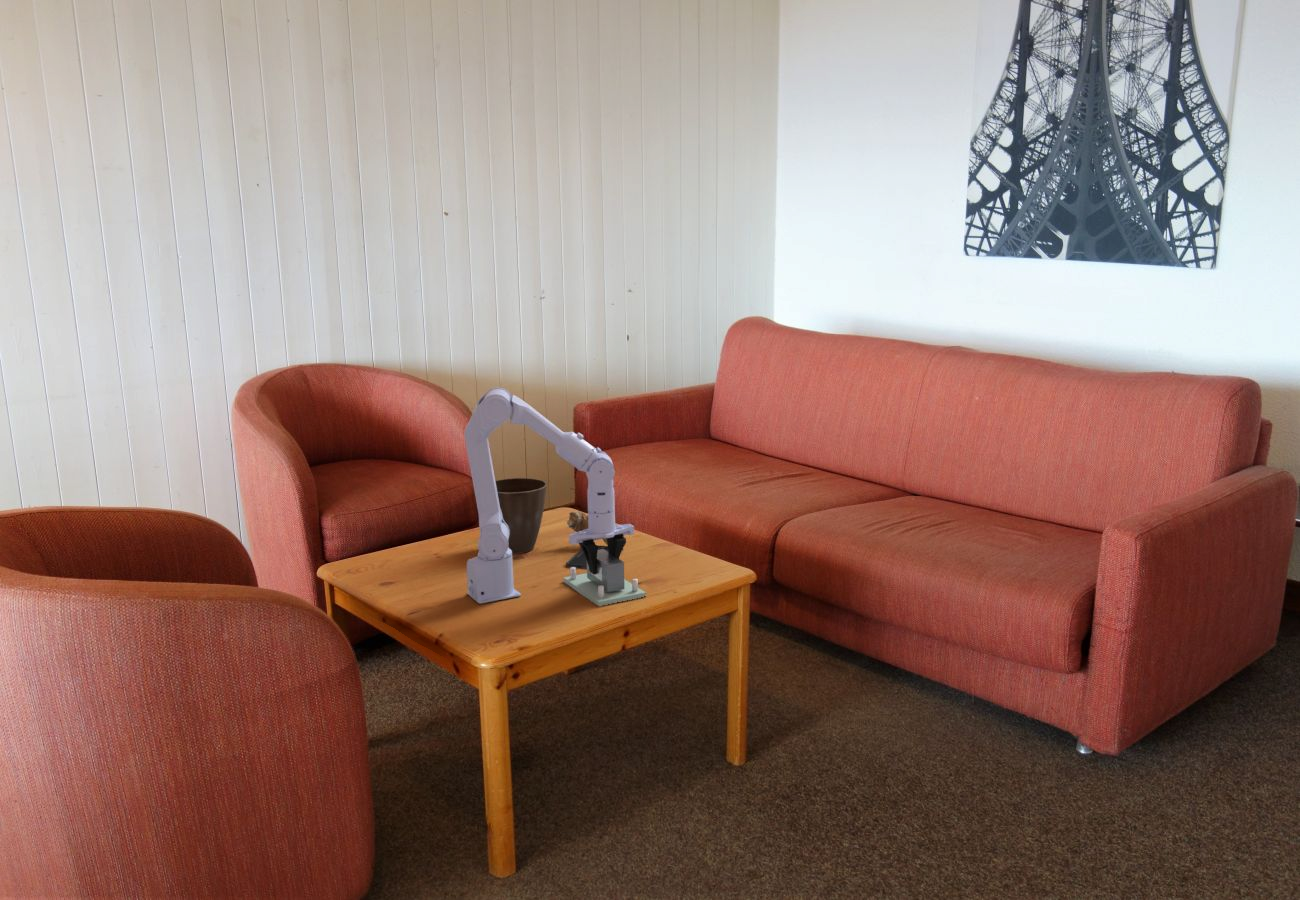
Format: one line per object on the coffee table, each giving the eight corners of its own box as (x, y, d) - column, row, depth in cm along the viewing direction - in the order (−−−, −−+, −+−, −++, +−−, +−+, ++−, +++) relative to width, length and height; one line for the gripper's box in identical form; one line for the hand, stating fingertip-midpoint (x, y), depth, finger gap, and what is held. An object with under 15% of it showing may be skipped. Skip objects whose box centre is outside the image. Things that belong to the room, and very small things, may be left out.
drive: (607, 592, 233) (606, 565, 231) (586, 578, 241) (586, 551, 240) (624, 588, 234) (624, 562, 233) (603, 574, 243) (603, 548, 242)
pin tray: (599, 606, 229) (598, 590, 228) (563, 581, 244) (562, 566, 243) (645, 596, 234) (645, 581, 233) (608, 573, 249) (607, 558, 248)
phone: (617, 546, 266) (596, 566, 252) (617, 551, 266) (596, 571, 252) (586, 544, 268) (564, 563, 254) (586, 549, 268) (564, 568, 254)
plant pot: (478, 545, 272) (475, 482, 268) (535, 536, 278) (532, 474, 275) (500, 562, 259) (496, 496, 255) (558, 551, 266) (556, 487, 262)
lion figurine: (564, 548, 268) (563, 512, 266) (575, 542, 273) (573, 507, 271) (619, 555, 262) (618, 518, 260) (628, 548, 267) (627, 512, 265)
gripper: (578, 519, 228) (580, 582, 231) (640, 509, 235) (641, 570, 238) (564, 511, 234) (566, 572, 237) (625, 502, 241) (626, 561, 244)
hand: (603, 571), depth 238 cm, fingers closed on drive, 4 cm apart
